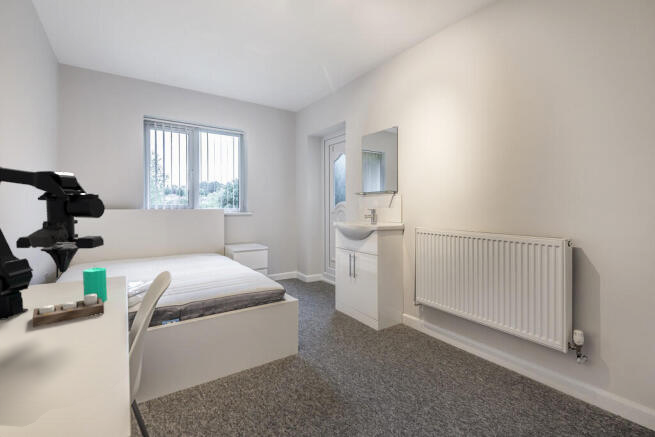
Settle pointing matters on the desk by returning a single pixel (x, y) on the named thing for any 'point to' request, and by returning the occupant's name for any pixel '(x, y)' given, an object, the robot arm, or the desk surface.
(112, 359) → the desk surface
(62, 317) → the button board
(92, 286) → the candle
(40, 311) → the button near
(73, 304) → the button middle
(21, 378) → the desk surface
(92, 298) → the button far
